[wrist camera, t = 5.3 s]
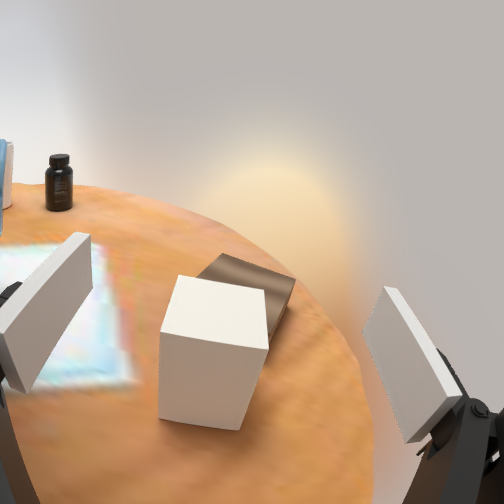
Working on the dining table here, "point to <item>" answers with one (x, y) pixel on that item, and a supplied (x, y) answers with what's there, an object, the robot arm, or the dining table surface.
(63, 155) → the supplement bottle
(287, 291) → the walnut stand
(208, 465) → the dining table surface
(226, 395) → the upright white rectangular block
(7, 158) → the drinking glass
